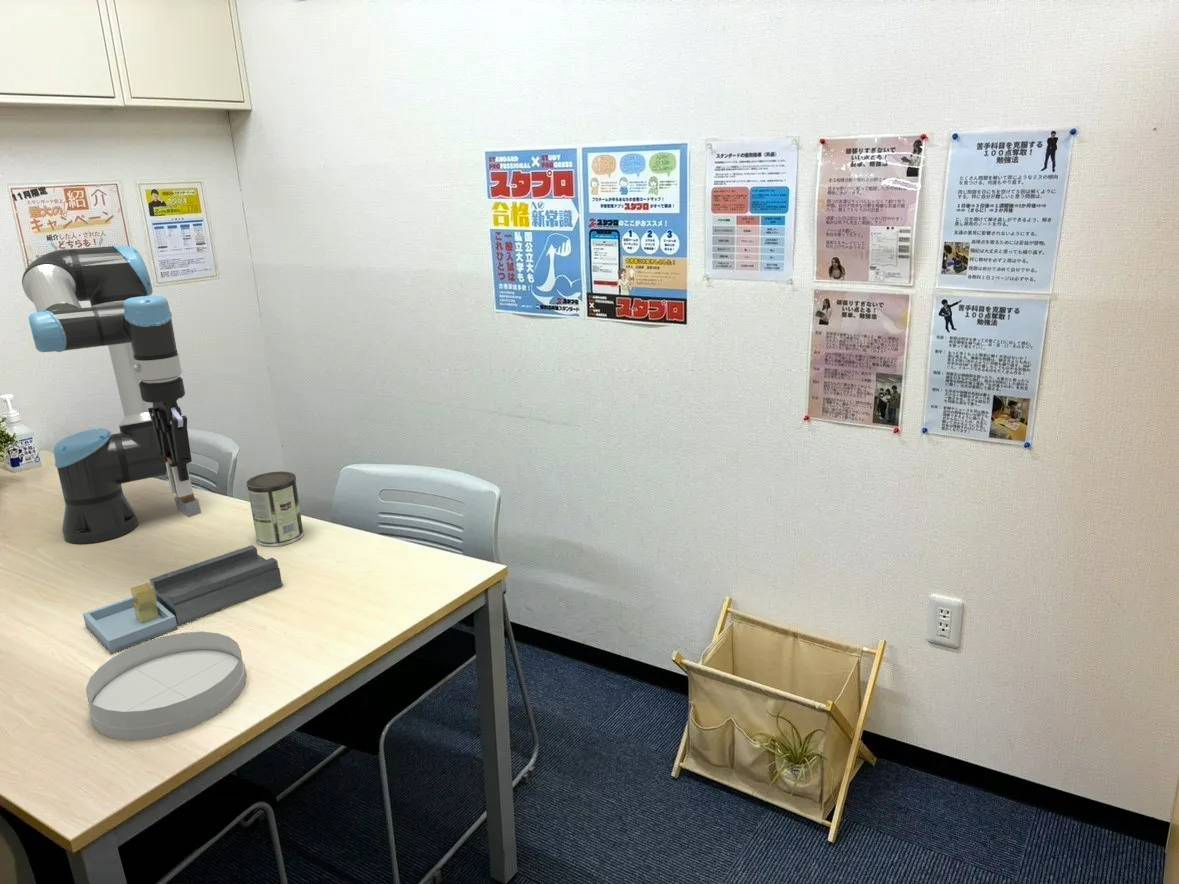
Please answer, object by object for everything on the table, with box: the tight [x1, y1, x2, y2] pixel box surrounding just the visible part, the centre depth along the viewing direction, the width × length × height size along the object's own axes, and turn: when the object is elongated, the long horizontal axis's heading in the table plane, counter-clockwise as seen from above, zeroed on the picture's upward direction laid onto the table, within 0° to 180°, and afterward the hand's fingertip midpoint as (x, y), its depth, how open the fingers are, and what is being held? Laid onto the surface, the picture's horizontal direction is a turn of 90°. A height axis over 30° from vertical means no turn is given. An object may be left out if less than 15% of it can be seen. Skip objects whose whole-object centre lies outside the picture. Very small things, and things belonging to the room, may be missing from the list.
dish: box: [85, 631, 247, 741], centre depth 128 cm, size 22×22×5 cm
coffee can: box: [245, 471, 305, 547], centre depth 183 cm, size 10×10×14 cm
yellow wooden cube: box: [133, 603, 159, 624], centre depth 150 cm, size 3×3×3 cm
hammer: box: [167, 456, 202, 518], centre depth 163 cm, size 6×2×12 cm, turn 46°
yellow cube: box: [130, 582, 157, 608], centre depth 149 cm, size 3×3×3 cm
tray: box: [82, 596, 178, 655], centre depth 148 cm, size 14×11×2 cm
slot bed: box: [149, 545, 283, 627], centre depth 159 cm, size 12×20×6 cm, turn 136°
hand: (182, 493), depth 163 cm, fingers closed on hammer, 2 cm apart
